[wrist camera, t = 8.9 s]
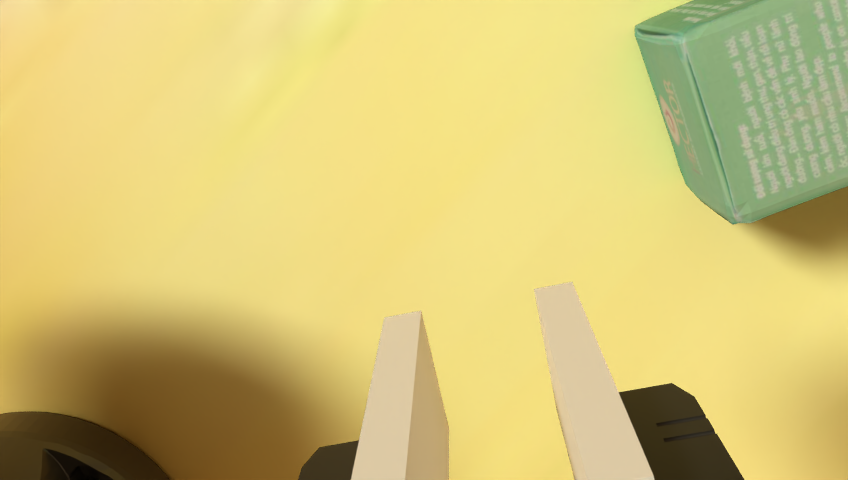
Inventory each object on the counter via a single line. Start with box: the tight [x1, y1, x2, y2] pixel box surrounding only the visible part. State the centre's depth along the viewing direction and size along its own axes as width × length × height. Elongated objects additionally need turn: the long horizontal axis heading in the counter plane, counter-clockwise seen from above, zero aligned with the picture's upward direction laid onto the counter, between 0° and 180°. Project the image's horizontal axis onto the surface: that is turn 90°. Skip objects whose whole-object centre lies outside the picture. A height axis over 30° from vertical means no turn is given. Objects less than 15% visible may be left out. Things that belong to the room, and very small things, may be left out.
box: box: [635, 0, 848, 224], centre depth 29 cm, size 7×14×8 cm, turn 113°
